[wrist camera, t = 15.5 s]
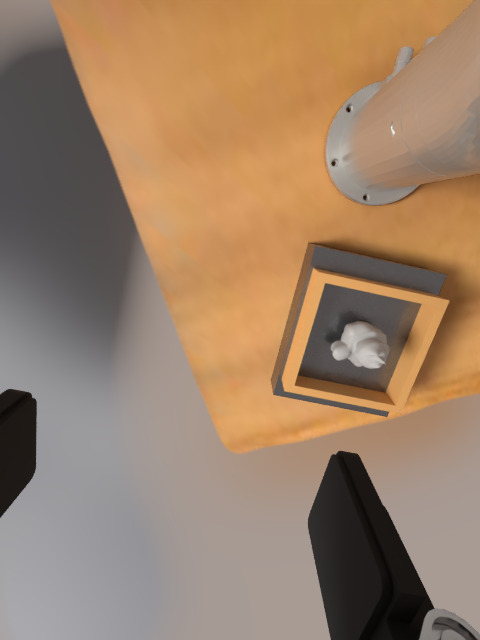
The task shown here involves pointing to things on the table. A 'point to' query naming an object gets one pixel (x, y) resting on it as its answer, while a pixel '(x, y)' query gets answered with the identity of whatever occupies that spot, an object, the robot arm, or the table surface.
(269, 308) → the table surface
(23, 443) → the robot arm
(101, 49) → the table surface
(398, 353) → the wooden tray on slab
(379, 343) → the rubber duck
